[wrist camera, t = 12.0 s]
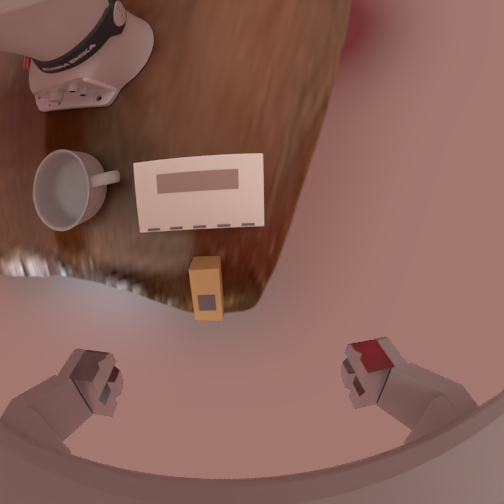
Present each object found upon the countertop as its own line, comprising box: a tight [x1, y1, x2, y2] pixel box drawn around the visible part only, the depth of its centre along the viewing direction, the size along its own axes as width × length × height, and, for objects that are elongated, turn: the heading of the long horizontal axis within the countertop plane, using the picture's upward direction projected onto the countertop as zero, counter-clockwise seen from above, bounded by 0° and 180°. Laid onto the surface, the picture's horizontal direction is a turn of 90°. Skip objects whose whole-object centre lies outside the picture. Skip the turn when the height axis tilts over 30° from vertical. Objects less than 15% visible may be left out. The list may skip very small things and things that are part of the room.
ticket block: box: [133, 153, 264, 233], centre depth 34 cm, size 16×9×5 cm, turn 91°
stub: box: [189, 256, 224, 321], centre depth 39 cm, size 4×8×5 cm, turn 2°
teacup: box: [33, 149, 120, 231], centre depth 31 cm, size 14×11×8 cm
